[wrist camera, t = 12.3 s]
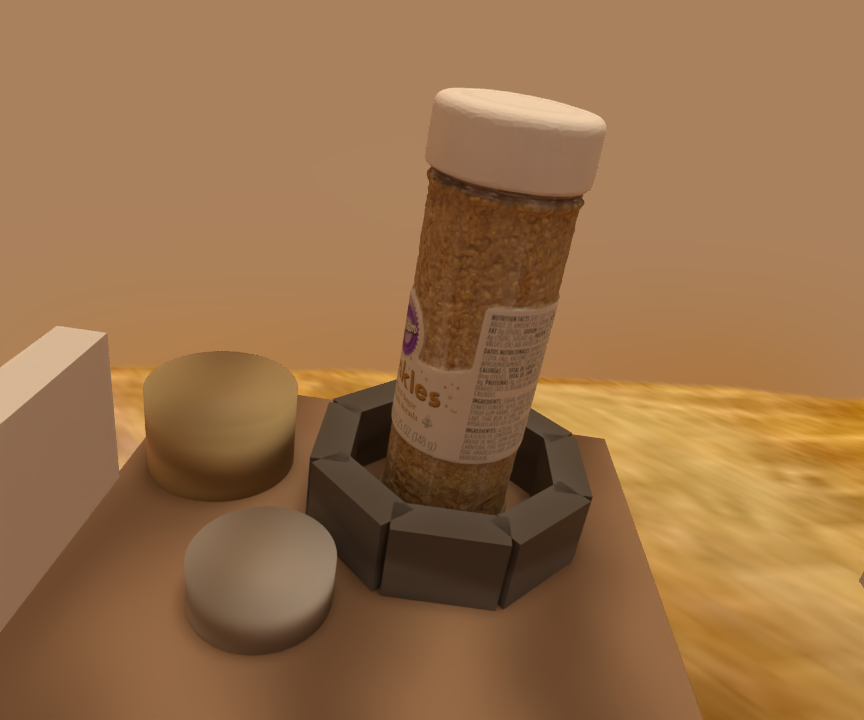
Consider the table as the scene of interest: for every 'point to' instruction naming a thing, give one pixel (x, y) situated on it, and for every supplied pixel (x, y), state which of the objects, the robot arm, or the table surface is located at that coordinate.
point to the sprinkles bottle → (485, 290)
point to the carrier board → (338, 577)
